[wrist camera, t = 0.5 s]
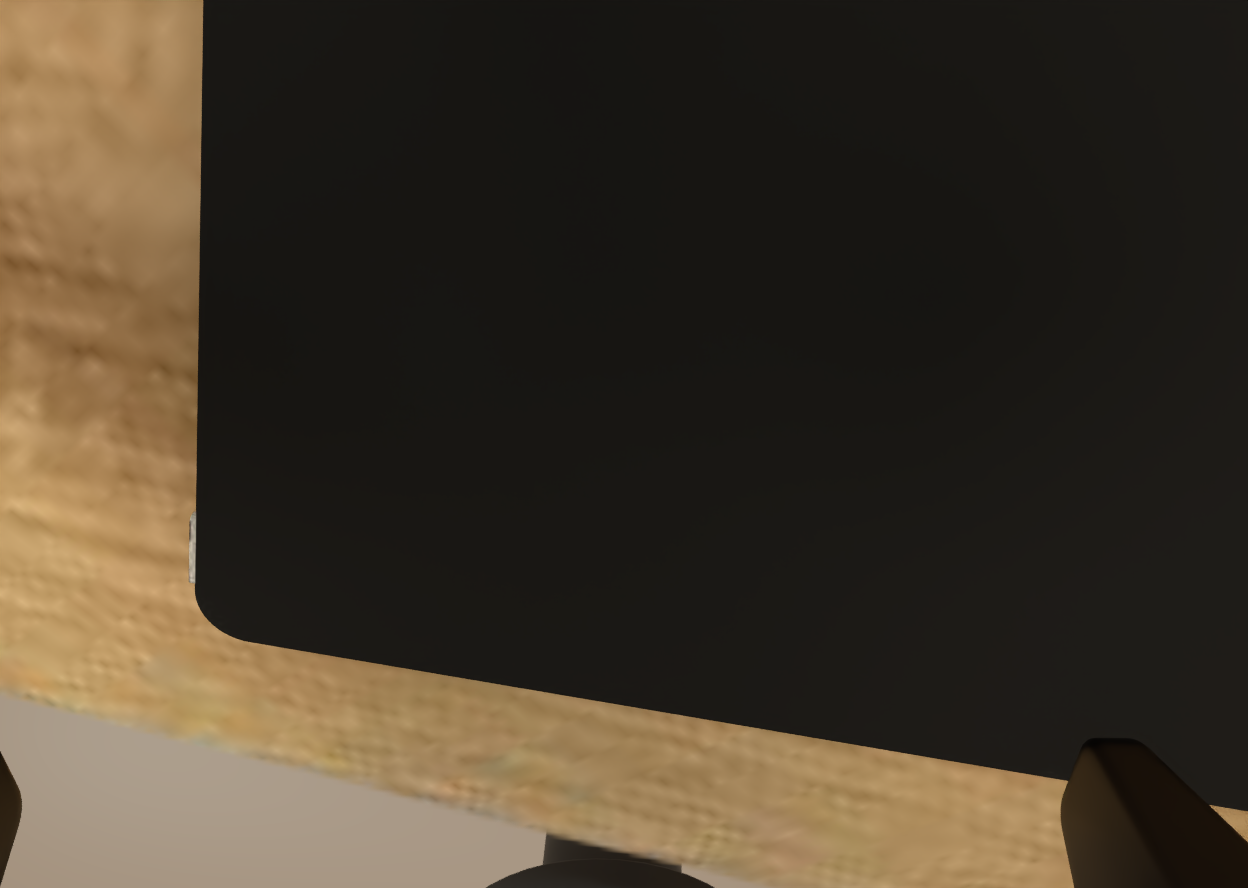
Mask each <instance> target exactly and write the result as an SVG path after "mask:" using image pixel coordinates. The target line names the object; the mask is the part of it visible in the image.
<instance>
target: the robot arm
mask: <svg viewBox="0 0 1248 888" xmlns="http://www.w3.org/2000/svg"><path fill="white" fill-rule="evenodd" d="M21 811H22V799H21V794H20V790H19V788H18V786H17V784H16V782H15V780H14V778H13V776H12V774H11V772H10V770H9V768H8V766H7V764H6V762H5V760H4V758H3V756H2V754H1V752H0V885H1V882H2V879H3V875H4V872H5V869H6V866H7V862H8V859H9V856H10V852H11V849H12V846H13V843H14V839H15V836H16V833H17V829H18V826H19V822H20V818H21ZM1061 825H1062V831H1063V836H1064V840H1065V845H1066V850H1067V855H1068V859H1069V864H1070V869H1071V874H1072V879H1073V883H1074V888H1248V842H1247V841H1246V840H1245V839H1244V838H1243V837H1242V836H1241V835H1240V834H1239V833H1238V832H1236V831H1235V830H1234V829H1233V828H1232V827H1231V826H1230V825H1229V824H1228V823H1227V822H1226V821H1225V820H1224V819H1223V818H1222V817H1221V816H1220V815H1219V814H1218V813H1217V812H1216V811H1214V810H1213V809H1212V808H1211V807H1210V806H1209V805H1208V804H1207V803H1206V802H1205V801H1204V800H1203V799H1202V798H1201V797H1200V796H1199V795H1198V794H1197V793H1196V792H1195V791H1193V790H1192V789H1191V788H1190V787H1189V786H1188V785H1187V784H1186V783H1185V782H1184V781H1183V780H1182V779H1181V778H1180V777H1179V776H1178V775H1177V774H1176V773H1175V772H1174V771H1173V770H1171V769H1170V768H1169V767H1168V766H1167V765H1166V764H1165V763H1164V762H1163V761H1162V760H1161V759H1160V758H1159V757H1158V756H1157V755H1156V754H1155V753H1154V752H1153V751H1152V750H1150V749H1149V748H1148V747H1147V746H1146V745H1145V744H1143V743H1141V742H1140V741H1138V740H1135V739H1131V738H1091V739H1089V740H1087V741H1086V742H1085V743H1084V744H1083V745H1082V747H1081V749H1080V751H1079V754H1078V757H1077V759H1076V762H1075V765H1074V767H1073V770H1072V773H1071V776H1070V778H1069V781H1068V784H1067V786H1066V789H1065V792H1064V794H1063V798H1062V802H1061Z"/></svg>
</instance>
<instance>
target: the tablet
mask: <svg viewBox="0 0 1248 888" xmlns="http://www.w3.org/2000/svg"><path fill="white" fill-rule="evenodd" d="M189 582H190V583H195V596H196V600H197V603H198V606H199V608H200V610H201V611H202V613H203V614H204V616H205V617H206V618H207V619H208V621H209V622H211V623H212V624H213V625H214V626H215V627H216V628H218V629H219V630H221V631H222V632H224V633H225V634H227V635H229V636H232V637H234V638H237V639H240V640H243V641H248V642H253V643H259V644H265V645H271V646H277V647H282V648H288V649H294V650H300V651H306V652H312V653H318V654H324V655H330V656H336V657H341V658H347V659H353V660H359V661H365V662H371V663H377V664H383V665H389V666H394V667H400V668H406V669H412V670H418V671H424V672H430V673H436V674H442V675H448V676H453V677H459V678H465V679H471V680H477V681H483V682H489V683H495V684H501V685H506V686H512V687H518V688H524V689H530V690H536V691H542V692H548V693H554V694H559V695H565V696H571V697H577V698H583V699H589V700H595V701H601V702H607V703H613V704H618V705H624V706H630V707H636V708H642V709H648V710H654V711H660V712H666V713H671V714H677V715H683V716H689V717H695V718H701V719H707V720H713V721H719V722H724V723H730V724H736V725H742V726H748V727H754V728H760V729H766V730H772V731H778V732H783V733H789V734H795V735H801V736H807V737H813V738H819V739H825V740H831V741H836V742H842V743H848V744H854V745H860V746H866V747H872V748H878V749H884V750H889V751H895V752H901V753H907V754H913V755H919V756H925V757H931V758H937V759H943V760H948V761H954V762H960V763H966V764H972V765H978V766H984V767H990V768H996V769H1001V770H1007V771H1013V772H1019V773H1025V774H1031V775H1037V776H1043V777H1049V778H1055V779H1060V780H1066V781H1069V778H1070V776H1071V773H1072V770H1073V767H1074V765H1075V762H1076V759H1077V757H1078V754H1079V751H1080V749H1081V747H1082V745H1083V744H1084V743H1085V742H1086V741H1087V740H1089V739H1091V738H1131V739H1135V740H1138V741H1140V742H1141V743H1143V744H1145V745H1146V746H1147V747H1148V748H1149V749H1150V750H1152V751H1153V752H1154V753H1155V754H1156V755H1157V756H1158V757H1159V758H1160V759H1161V760H1162V761H1163V762H1164V763H1165V764H1166V765H1167V766H1168V767H1169V768H1170V769H1171V770H1173V771H1174V772H1175V773H1176V774H1177V775H1178V776H1179V777H1180V778H1181V779H1182V780H1183V781H1184V782H1185V783H1186V784H1187V785H1188V786H1189V787H1190V788H1191V789H1192V790H1193V791H1195V792H1196V793H1197V794H1198V795H1199V796H1200V797H1201V798H1202V799H1203V800H1204V801H1205V802H1206V803H1207V804H1208V805H1214V806H1220V807H1225V808H1231V809H1237V810H1243V811H1248V0H203V67H202V137H201V206H200V275H199V344H198V413H197V483H196V512H195V511H194V512H193V513H192V515H191V518H190V533H189Z"/></svg>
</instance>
